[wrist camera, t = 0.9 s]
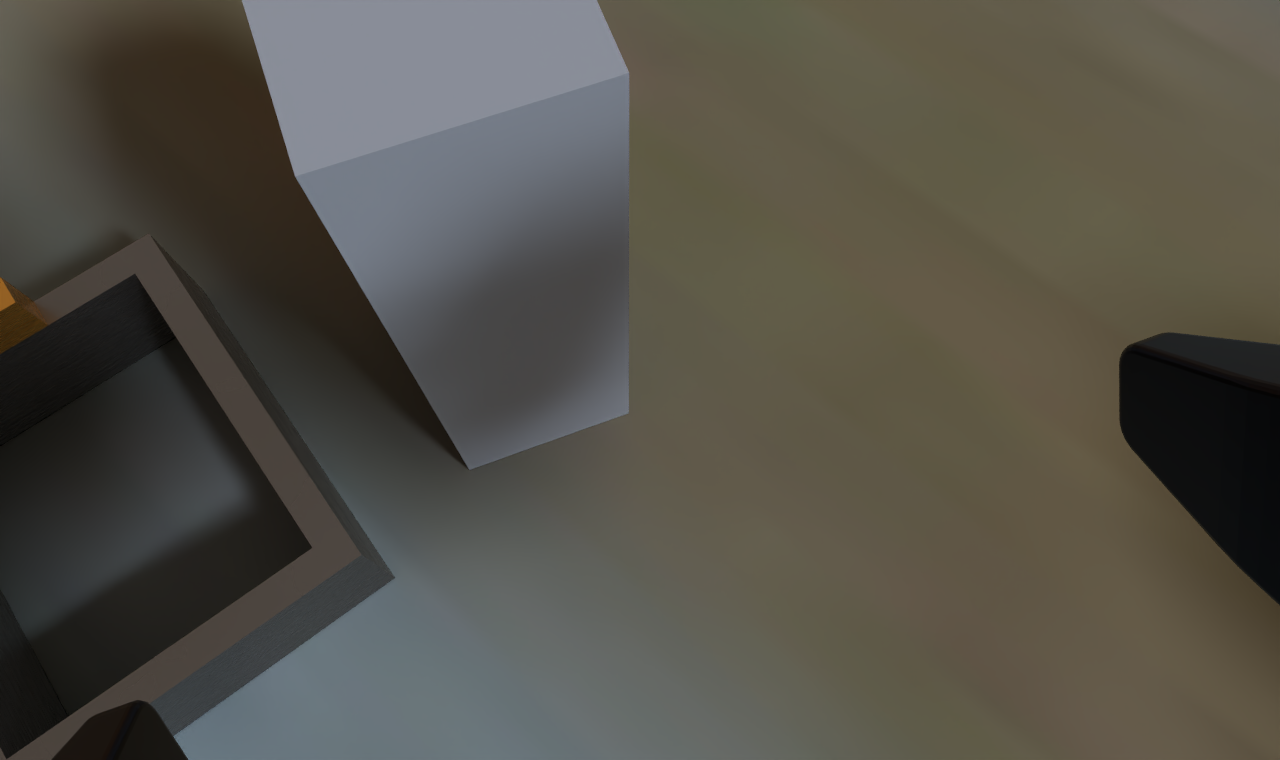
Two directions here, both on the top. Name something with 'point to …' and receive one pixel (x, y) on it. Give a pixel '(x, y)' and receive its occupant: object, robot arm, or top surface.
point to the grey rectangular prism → (471, 196)
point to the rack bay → (341, 551)
